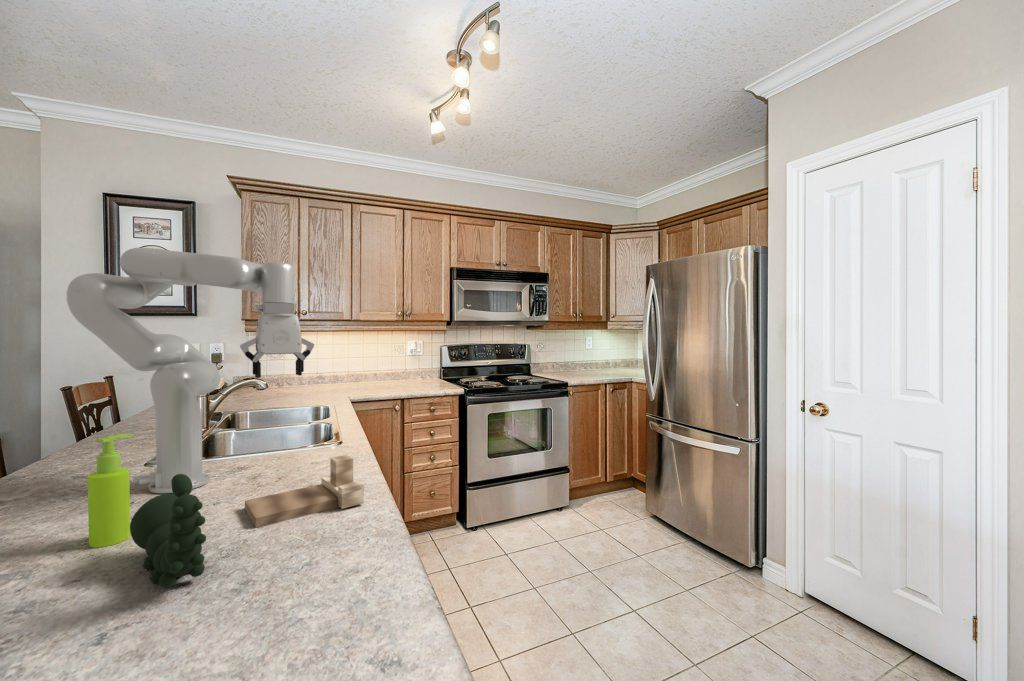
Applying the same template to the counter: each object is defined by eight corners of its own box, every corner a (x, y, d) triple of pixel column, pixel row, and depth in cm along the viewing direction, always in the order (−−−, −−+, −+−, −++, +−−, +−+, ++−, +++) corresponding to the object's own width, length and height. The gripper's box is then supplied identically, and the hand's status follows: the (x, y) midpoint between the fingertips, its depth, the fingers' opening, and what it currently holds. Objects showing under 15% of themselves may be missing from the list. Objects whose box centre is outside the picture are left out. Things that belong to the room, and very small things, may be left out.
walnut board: (255, 527, 90) (255, 518, 90) (244, 509, 99) (244, 500, 99) (361, 501, 105) (361, 492, 105) (343, 487, 114) (343, 479, 114)
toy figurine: (223, 592, 71) (186, 530, 88) (225, 479, 69) (187, 437, 86) (148, 621, 64) (123, 547, 81) (148, 495, 62) (123, 446, 79)
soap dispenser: (143, 533, 88) (142, 433, 87) (101, 549, 81) (99, 441, 80) (124, 529, 89) (122, 430, 89) (81, 544, 83) (79, 438, 82)
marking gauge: (341, 508, 99) (341, 467, 99) (321, 490, 110) (321, 453, 110) (363, 503, 102) (363, 463, 102) (341, 486, 113) (341, 450, 113)
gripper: (242, 308, 106) (243, 379, 107) (317, 311, 117) (318, 375, 118) (237, 309, 112) (237, 377, 112) (309, 311, 123) (309, 373, 124)
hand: (278, 376), depth 115 cm, fingers open, 9 cm apart
